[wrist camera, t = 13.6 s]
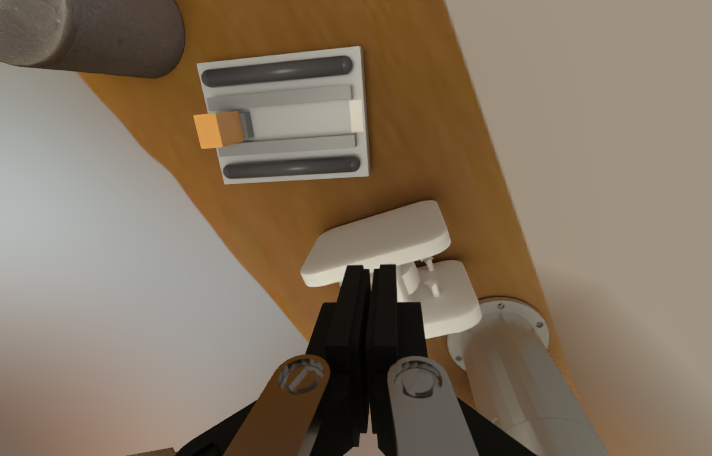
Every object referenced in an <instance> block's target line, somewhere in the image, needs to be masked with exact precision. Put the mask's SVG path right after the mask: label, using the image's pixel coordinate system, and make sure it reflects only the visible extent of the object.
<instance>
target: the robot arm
mask: <svg viewBox="0 0 712 456" xmlns="http://www.w3.org/2000/svg"><path fill="white" fill-rule="evenodd" d="M478 302H479V306H480V309H481V313H482V318H481V320H480V322H479V323H478V324H476V325H475V326H474V327H472V328H470V329H467V330H465V331H461V332H459V333H452V334H447V336H446V339H447V346H448V350H449V353H450V355H451V357H452V359H453V360H454V362H455V363H456V364H457V365H458V366H459V367H461V368H462V369H463V370H465V371H466V372H467V376H468V380H469V384H470V388H471V392H472V395H473V399H474V403H475V407H476V411H475V410H474V409H473V408H471V407H470V406H469V405H467V404H466V403H464V402H463V401H462V400H460V399H459V398H458V397H456V395H455V392H454V389H453V387H452V384H451V382H450V379H449V377H448V374H447V373H446V371H445V369H444V368H443V367H442V366H441V365H440V364H438V363H437V362H435V361H433V360H431V359H430V358H428V355H427V347H426V340H425V332H424V324H423V316H422V309H421V302H397V277H396V264H380V269H374V272H373V281H372V289H371V282H370V270H369V269H364V266H363V265H347V267H346V271H345V274H344V278H343V281H342V285H341V288H340V292H339V296H338V299H337V302H331V303H323V305H322V307H321V310H320V313H319V316H318V319H317V322H316V325H315V327H314V330H313V333H312V336H311V339H310V342H309V345H308V348H307V351H306V354H305V355H299V356H295V357H293V358H291V359H288V360H287V361H285V362H284V363H283V364H281V365H280V366H279V367H278V369H277V370H276V371H275V372H274V374H273V376H272V377H271V379H270V381H269V382H268V384H267V386H266V387H265V389H264V390H263V392H262V393H261V395H260V397H259V398H258V400H256V401H255V402H253V403H251V404H250V405H248V406H246V407H245V408H243V409H242V410H240V411H238V412H237V413H235V414H233V415H232V416H230V417H229V418H227V419H225V420H224V421H222V422H220V423H219V424H217V425H216V426H214V427H212V428H211V429H209V430H207V431H206V432H204V433H203V434H201V435H199V436H198V437H196V438H194V439H193V440H191V441H190V442H189V443H187V444H186V445H185V446H183V447H182V448H181V449H180V450H179V451H178V452H175V451H174V449H173V447H172V448H167V449H162V450H156V451H150V452H145V453H139V454H134V455H128V456H343V455H344V454H345V453H347V452H348V451H349V450H350V449H351V448H352V447H359V437H360V433H367V427H368V415H369V403H370V411H371V422H372V432H373V434H377V438H378V448H379V449H380V450H381V451H382V452H383V453H384V455H385V456H610V454H609V452H608V450H607V449H606V447H605V445H604V444H603V442H602V440H601V439H600V437H599V435H598V434H597V432H596V431H595V429H594V427H593V425H592V424H591V422H590V420H589V419H588V417H587V415H586V414H585V412H584V410H583V409H582V407H581V405H580V404H579V402H578V400H577V399H576V397H575V395H574V394H573V392H572V390H571V389H570V387H569V385H568V384H567V382H566V380H565V379H564V377H563V376H562V374H561V372H560V371H559V369H558V367H557V366H556V364H555V362H554V361H553V359H552V357H551V356H550V354H549V352H548V351H547V349H548V345H549V340H550V334H549V329H548V326H547V324H546V322H545V320H544V319H543V317H542V316H541V315H540V313H539V312H538V311H537V310H536V309H535V308H534V307H532V306H531V305H529V304H527V303H526V302H523V301H520V300H518V299H514V298H509V297H492V298H485V299H482V300H478Z"/></svg>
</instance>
